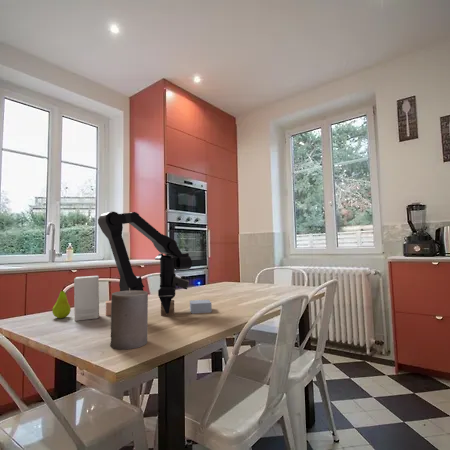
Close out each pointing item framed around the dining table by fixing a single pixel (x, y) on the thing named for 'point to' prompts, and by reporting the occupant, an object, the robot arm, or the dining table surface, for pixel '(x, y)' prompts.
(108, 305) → the terracotta cube
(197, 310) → the slate slab
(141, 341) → the pillar candle
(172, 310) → the walnut cube
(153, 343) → the dining table surface
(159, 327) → the dining table surface
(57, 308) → the fruit
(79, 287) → the skincare box
